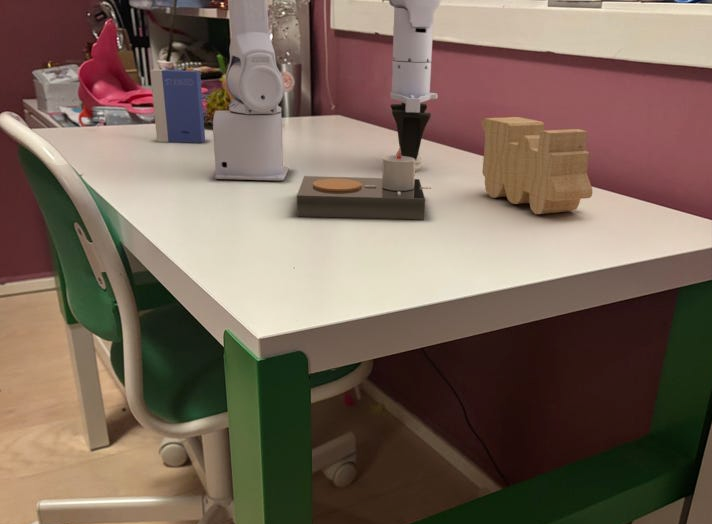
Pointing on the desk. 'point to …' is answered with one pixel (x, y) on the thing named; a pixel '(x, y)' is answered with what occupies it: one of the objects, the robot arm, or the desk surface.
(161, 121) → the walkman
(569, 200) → the toy train
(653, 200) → the desk surface
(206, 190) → the desk surface
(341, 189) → the burner
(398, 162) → the hob knob
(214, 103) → the yellow-green lumpy cluster
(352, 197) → the hob
